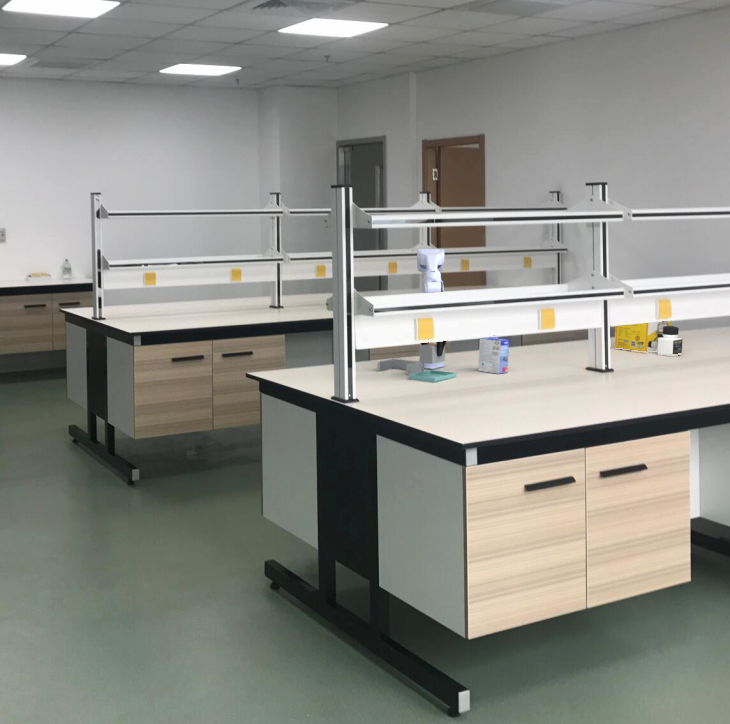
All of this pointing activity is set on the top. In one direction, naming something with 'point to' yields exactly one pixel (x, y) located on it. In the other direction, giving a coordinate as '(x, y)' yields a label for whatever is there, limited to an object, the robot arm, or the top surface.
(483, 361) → the ink cartridge box
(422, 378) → the teal tray
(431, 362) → the toner caddy
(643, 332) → the packaging box
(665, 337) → the medicine bottle
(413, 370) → the printer bay
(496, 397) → the top surface
